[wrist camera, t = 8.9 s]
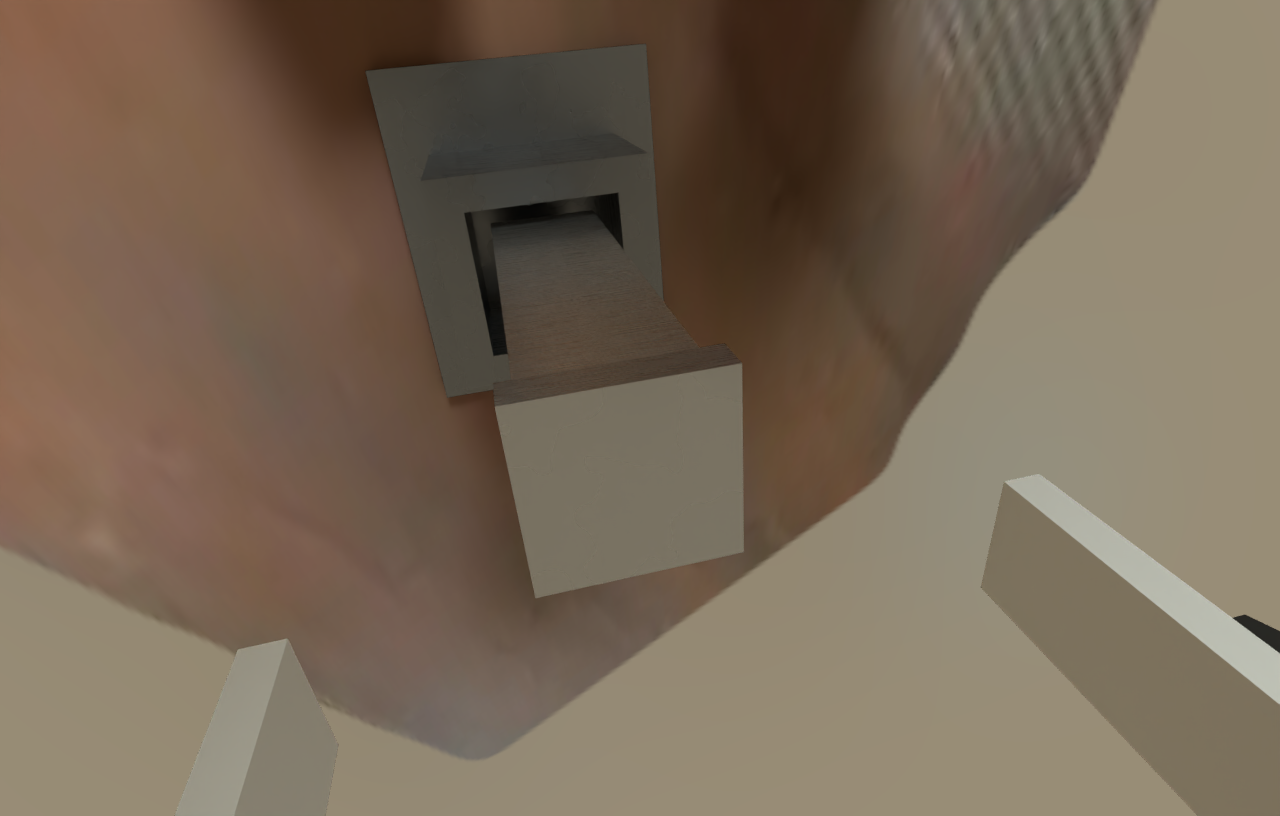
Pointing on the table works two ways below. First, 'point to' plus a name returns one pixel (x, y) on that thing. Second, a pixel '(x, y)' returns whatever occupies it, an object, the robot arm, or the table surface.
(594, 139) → the stand base
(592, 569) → the column
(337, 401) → the table surface
